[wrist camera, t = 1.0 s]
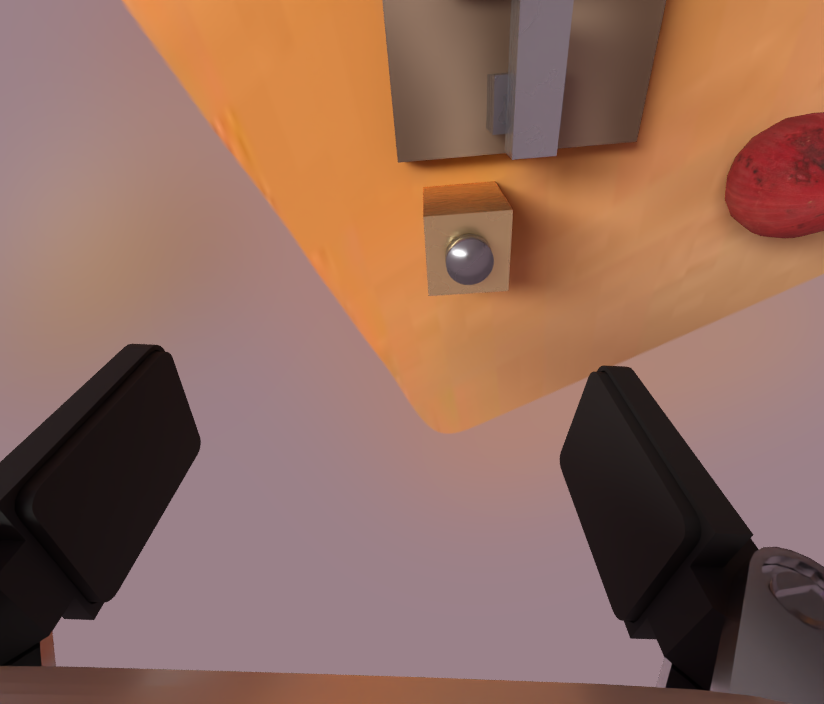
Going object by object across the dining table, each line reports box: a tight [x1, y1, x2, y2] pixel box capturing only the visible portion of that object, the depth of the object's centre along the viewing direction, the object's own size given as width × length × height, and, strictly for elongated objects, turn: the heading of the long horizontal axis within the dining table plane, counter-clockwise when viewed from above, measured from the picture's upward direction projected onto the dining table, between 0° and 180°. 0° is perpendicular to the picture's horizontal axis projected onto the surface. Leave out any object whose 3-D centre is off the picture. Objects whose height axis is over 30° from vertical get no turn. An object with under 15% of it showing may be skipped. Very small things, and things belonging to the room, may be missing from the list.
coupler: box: [423, 181, 513, 296], centre depth 23 cm, size 4×4×7 cm
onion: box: [725, 112, 824, 238], centre depth 21 cm, size 6×6×8 cm
